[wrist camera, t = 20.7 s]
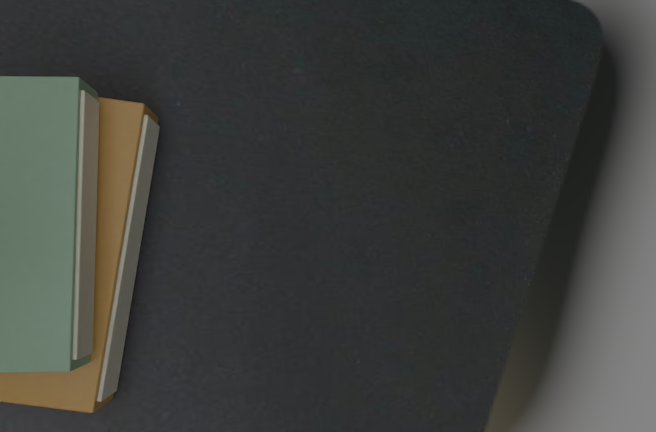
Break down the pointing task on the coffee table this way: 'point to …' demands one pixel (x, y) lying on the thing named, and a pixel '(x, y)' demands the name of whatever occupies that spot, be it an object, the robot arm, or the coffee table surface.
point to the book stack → (68, 237)
